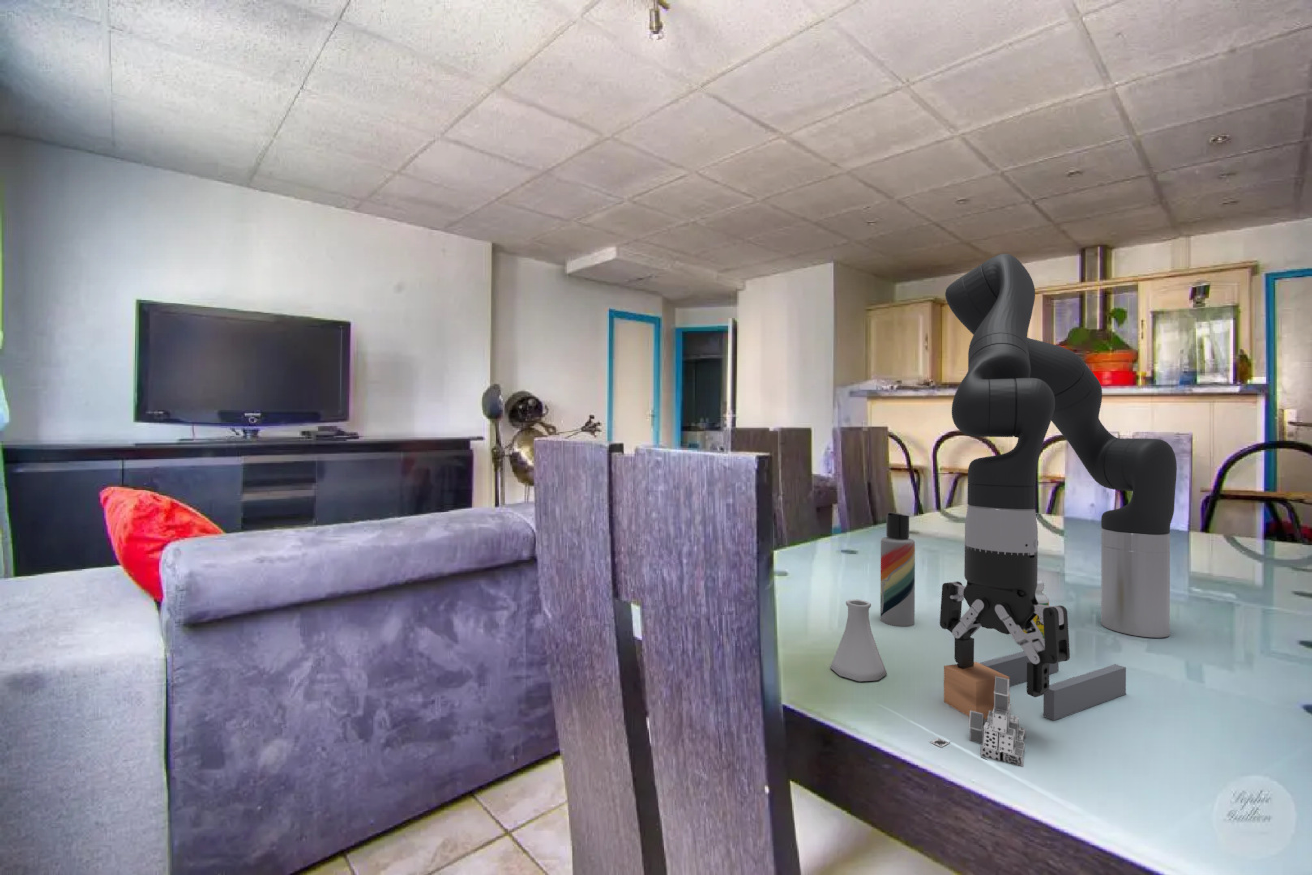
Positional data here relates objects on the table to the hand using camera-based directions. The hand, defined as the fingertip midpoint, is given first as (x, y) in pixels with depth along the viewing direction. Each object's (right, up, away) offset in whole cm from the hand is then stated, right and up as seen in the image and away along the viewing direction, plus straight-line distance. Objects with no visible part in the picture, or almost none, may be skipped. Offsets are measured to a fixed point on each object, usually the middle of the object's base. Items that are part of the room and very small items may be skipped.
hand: (998, 681), depth 69 cm
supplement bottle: (+22, -5, +28) cm, 36 cm away
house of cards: (-5, -5, -4) cm, 8 cm away
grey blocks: (+11, -4, +7) cm, 14 cm away
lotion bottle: (+3, -5, +35) cm, 36 cm away
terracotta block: (-1, -5, +2) cm, 6 cm away
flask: (-12, -5, +13) cm, 19 cm away
